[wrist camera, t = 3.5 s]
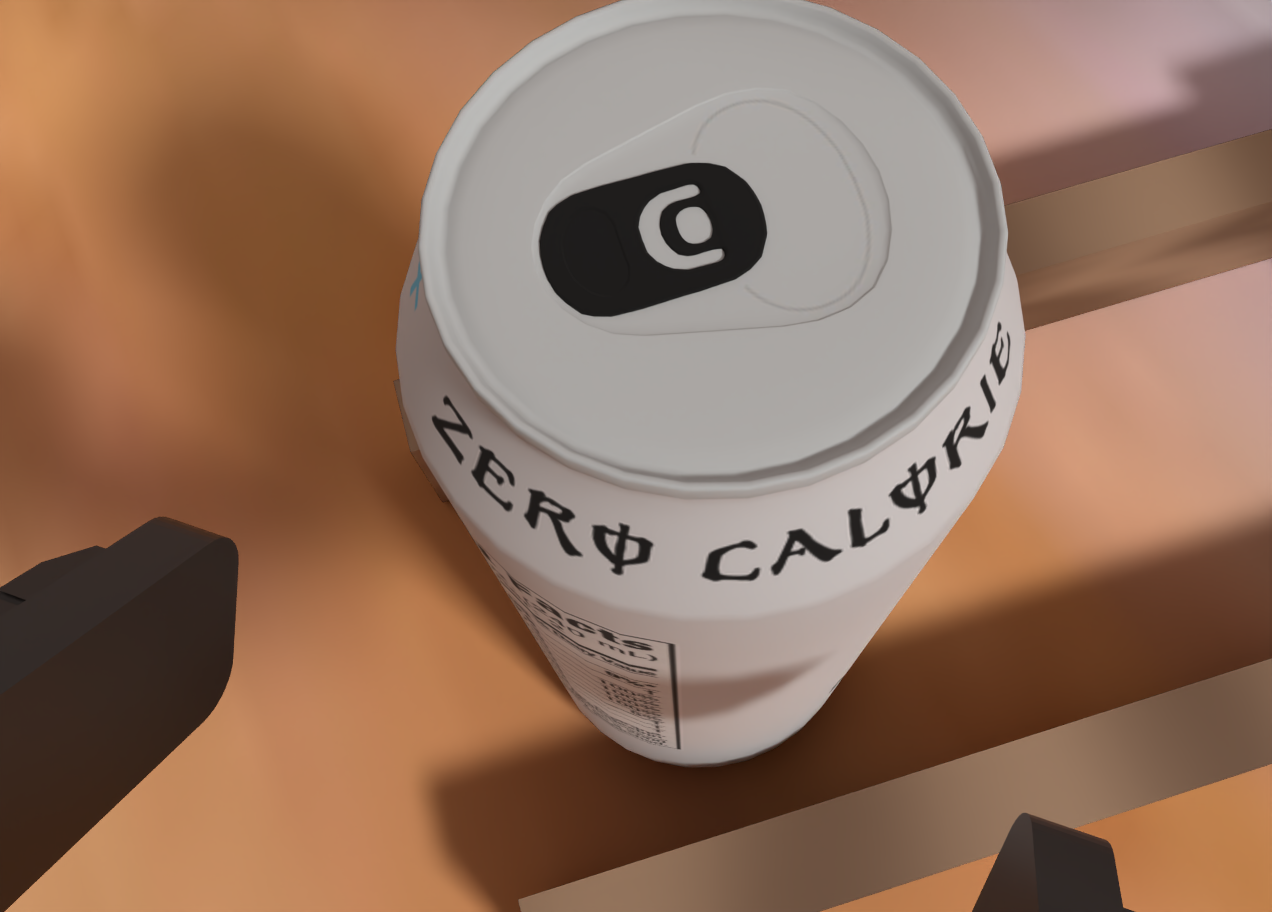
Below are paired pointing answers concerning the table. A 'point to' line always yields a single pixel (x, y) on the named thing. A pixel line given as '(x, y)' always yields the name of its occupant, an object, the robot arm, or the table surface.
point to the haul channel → (1056, 758)
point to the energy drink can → (710, 352)
